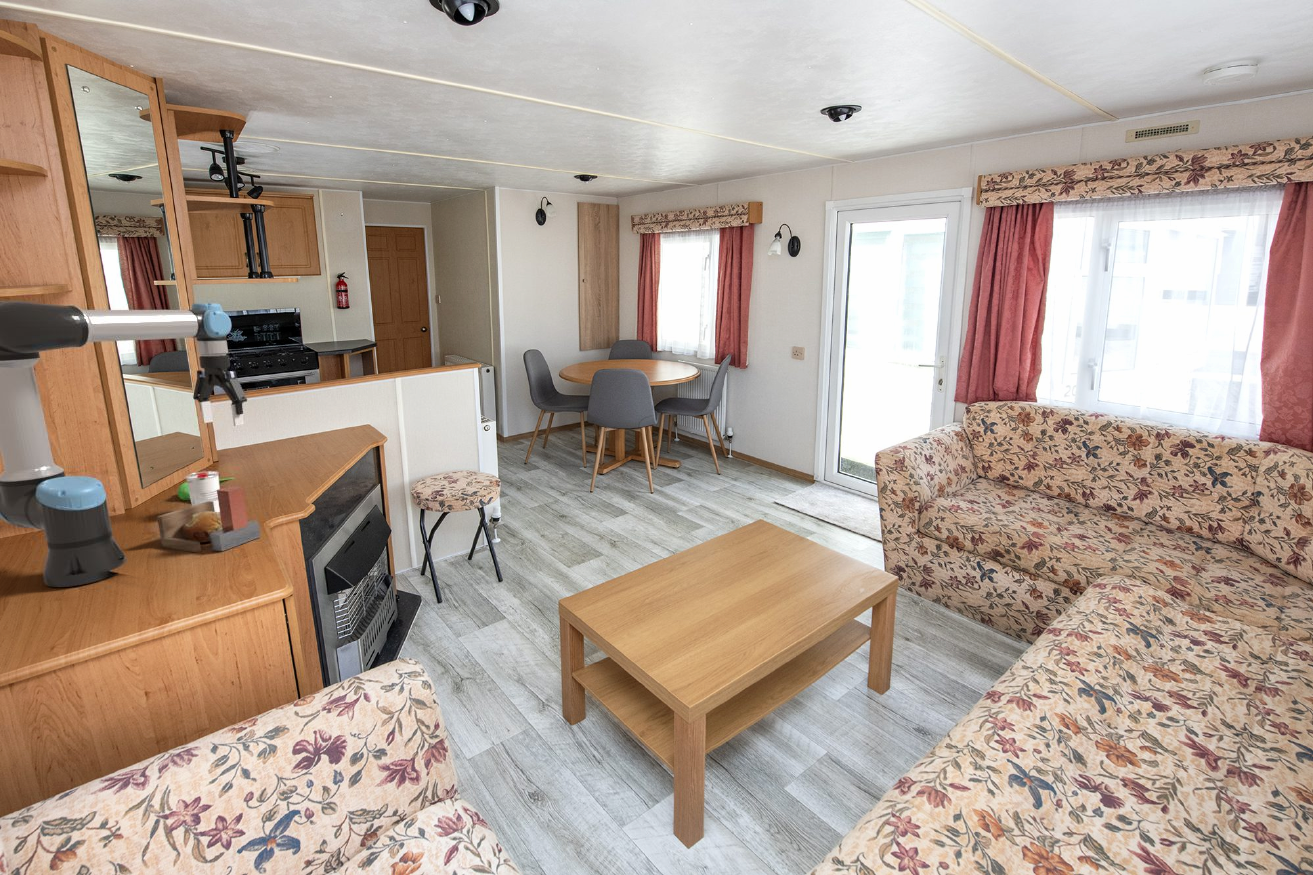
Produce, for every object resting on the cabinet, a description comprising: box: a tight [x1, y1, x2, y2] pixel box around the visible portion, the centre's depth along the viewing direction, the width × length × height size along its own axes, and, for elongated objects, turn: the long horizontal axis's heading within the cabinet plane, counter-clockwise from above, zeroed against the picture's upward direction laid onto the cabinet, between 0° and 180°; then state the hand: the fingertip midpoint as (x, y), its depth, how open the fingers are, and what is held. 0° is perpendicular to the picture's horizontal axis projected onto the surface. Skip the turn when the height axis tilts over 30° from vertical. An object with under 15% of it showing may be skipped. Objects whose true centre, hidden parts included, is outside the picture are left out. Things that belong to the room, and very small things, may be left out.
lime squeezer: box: [176, 477, 235, 501], centre depth 212 cm, size 34×12×6 cm, turn 20°
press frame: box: [156, 501, 215, 553], centre depth 172 cm, size 15×14×8 cm
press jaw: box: [209, 485, 261, 552], centre depth 167 cm, size 11×4×15 cm, turn 161°
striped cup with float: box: [184, 470, 221, 513], centre depth 194 cm, size 10×8×12 cm
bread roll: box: [183, 511, 222, 543], centre depth 172 cm, size 10×10×8 cm
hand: (223, 423), depth 198 cm, fingers open, 13 cm apart
